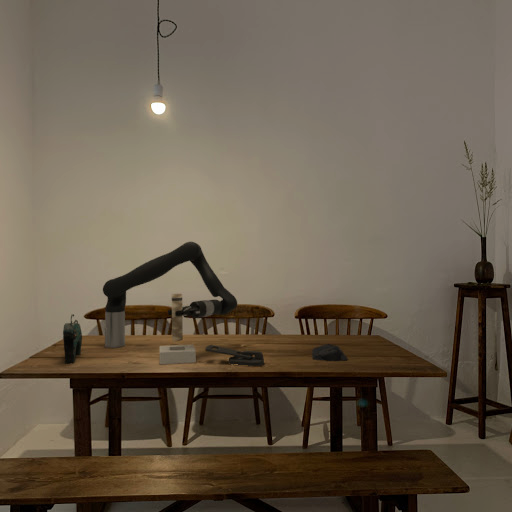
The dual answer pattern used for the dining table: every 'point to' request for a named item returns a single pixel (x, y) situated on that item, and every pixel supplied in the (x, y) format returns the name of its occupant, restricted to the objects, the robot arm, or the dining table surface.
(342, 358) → the dark slate chunk
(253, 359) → the zipper pull
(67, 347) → the ceramic cat
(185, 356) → the well block
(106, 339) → the robot arm
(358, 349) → the dining table surface
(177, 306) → the beech dowel
